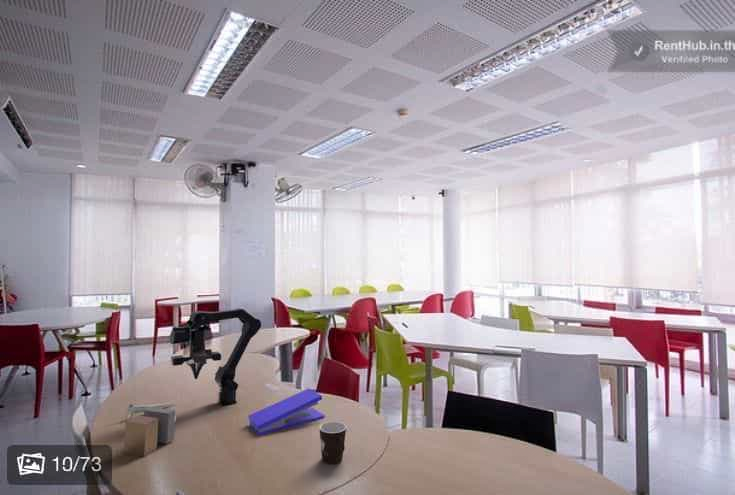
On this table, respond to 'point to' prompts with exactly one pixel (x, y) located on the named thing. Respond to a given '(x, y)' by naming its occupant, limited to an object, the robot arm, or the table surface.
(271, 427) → the stapler
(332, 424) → the dark brown cup
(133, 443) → the tan rectangular block
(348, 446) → the table surface
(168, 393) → the table surface
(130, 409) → the caliper
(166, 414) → the gray concrete brick
